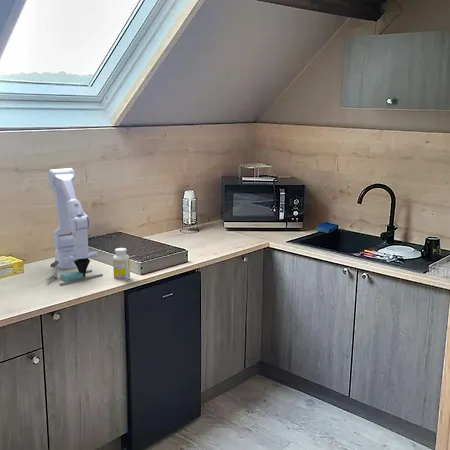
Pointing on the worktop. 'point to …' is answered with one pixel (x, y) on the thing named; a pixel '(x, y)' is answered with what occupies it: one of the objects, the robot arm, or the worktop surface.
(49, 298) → the worktop surface
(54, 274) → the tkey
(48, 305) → the worktop surface
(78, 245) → the robot arm
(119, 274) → the supplement bottle
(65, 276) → the cover
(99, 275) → the channel
